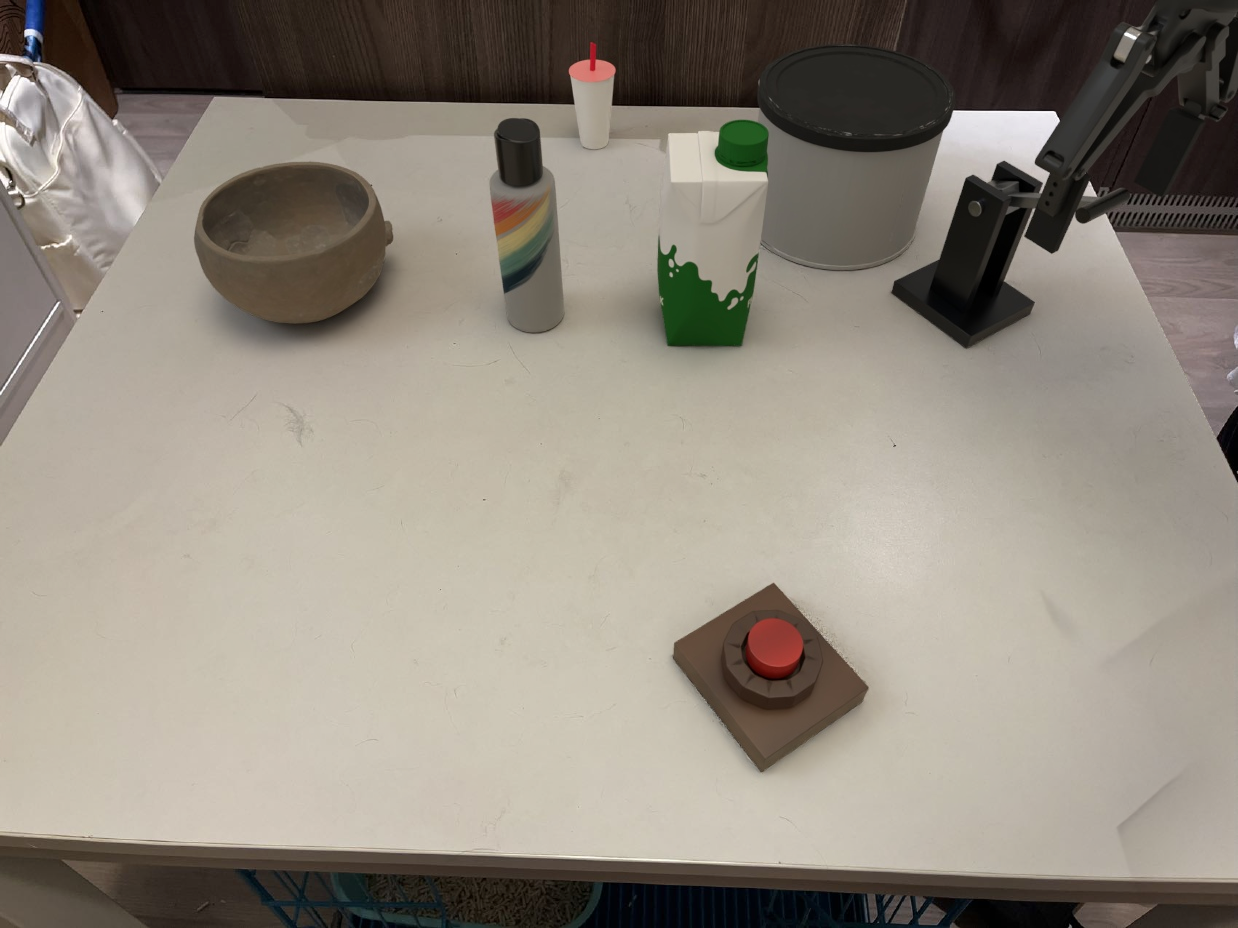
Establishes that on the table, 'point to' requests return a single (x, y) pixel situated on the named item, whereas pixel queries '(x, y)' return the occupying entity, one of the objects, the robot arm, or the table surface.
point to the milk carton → (711, 232)
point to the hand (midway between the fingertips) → (1097, 215)
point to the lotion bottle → (526, 228)
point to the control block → (768, 679)
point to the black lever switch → (974, 263)
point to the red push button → (774, 648)
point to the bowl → (293, 240)
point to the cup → (593, 99)
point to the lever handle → (1085, 210)
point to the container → (848, 152)
